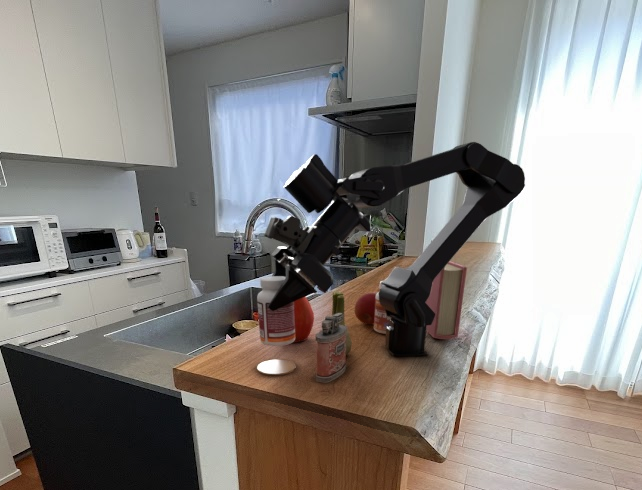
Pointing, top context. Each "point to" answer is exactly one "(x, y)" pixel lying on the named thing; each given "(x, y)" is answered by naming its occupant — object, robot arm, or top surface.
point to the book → (447, 301)
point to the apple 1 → (303, 319)
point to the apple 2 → (366, 308)
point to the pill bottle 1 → (274, 315)
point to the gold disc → (276, 367)
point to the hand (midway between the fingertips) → (266, 305)
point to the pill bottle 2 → (380, 316)
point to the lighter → (331, 349)
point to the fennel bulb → (339, 308)
